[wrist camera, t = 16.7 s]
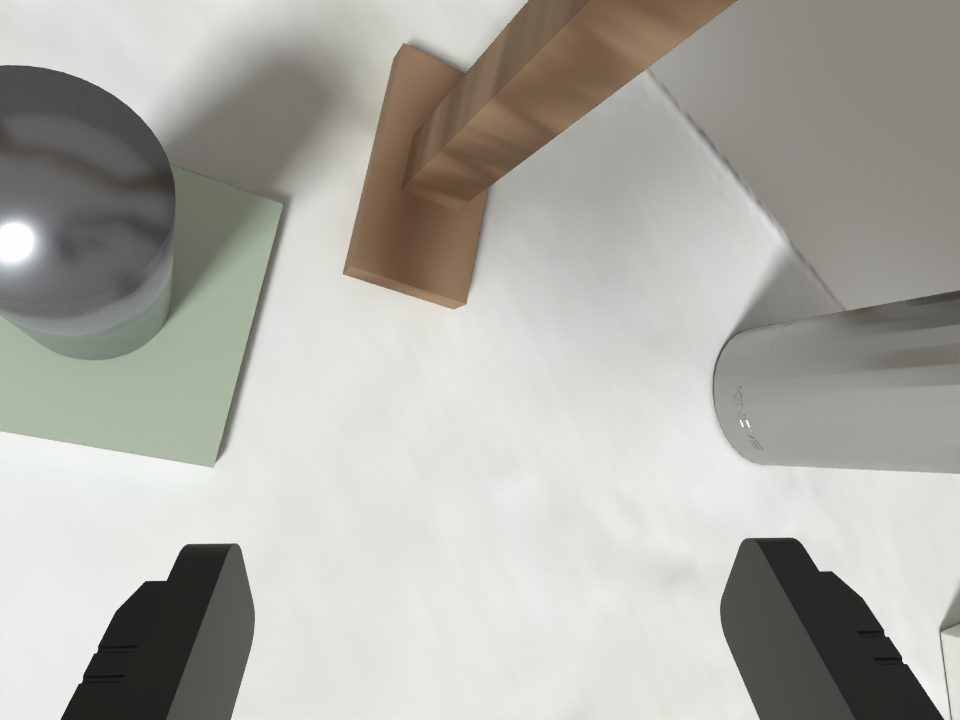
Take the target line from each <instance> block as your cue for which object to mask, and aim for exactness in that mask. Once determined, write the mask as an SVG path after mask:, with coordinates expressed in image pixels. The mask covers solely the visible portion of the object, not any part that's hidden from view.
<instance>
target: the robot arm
mask: <svg viewBox="0 0 960 720" xmlns="http://www.w3.org/2000/svg"><path fill="white" fill-rule="evenodd" d="M714 402H715V409H716V413H717V416H718V420H719V423H720V426H721V428H722V430H723V432H724V434H725V436H726V438H727V439H728V441H729V442H730V444H731V445H732V447H733V448H734V449H735V450H736V451H737V452H738V453H739V454H740V455H741V456H743V457H744V458H746V459H748V460H749V461H751V462H754V463H757V464H761V465H777V466H800V467H817V468H839V469H862V470H884V471H907V472H930V473H953V474H960V290H959V291H954V292H948V293H942V294H937V295H932V296H926V297H921V298H916V299H910V300H905V301H899V302H893V303H888V304H883V305H877V306H872V307H867V308H861V309H856V310H850V311H844V312H839V313H834V314H828V315H823V316H817V317H812V318H806V319H800V320H794V321H789V322H784V323H778V324H773V325H768V326H762V327H757V328H752V329H747V330H744V331H742V332H740V333H738V334H736V335H735V336H734V337H733V338H732V339H731V340H730V341H729V342H728V343H727V345H726V346H725V348H724V349H723V351H722V353H721V355H720V358H719V360H718V363H717V366H716V371H715V376H714ZM720 615H721V623H722V628H723V632H724V636H725V638H726V641H727V643H728V646H729V648H730V650H731V653H732V655H733V657H734V660H735V662H736V664H737V667H738V669H739V672H740V674H741V676H742V679H743V681H744V683H745V686H746V688H747V690H748V693H749V695H750V697H751V700H752V702H753V704H754V707H755V709H756V711H757V714H758V716H759V719H760V720H944V719H943V717H942V716H941V714H940V713H939V711H938V710H937V708H936V707H935V705H934V704H933V702H932V701H931V699H930V698H929V696H928V695H927V693H926V692H925V690H924V689H923V687H922V686H921V684H920V683H919V681H918V680H917V678H916V677H915V675H914V674H913V673H912V671H911V670H910V668H909V667H908V665H907V664H904V663H903V662H902V656H901V655H900V653H899V652H898V650H897V649H896V647H895V646H894V644H893V643H892V641H891V640H890V638H889V637H885V635H884V629H883V628H882V626H881V625H880V623H879V622H878V620H877V619H876V617H875V616H874V615H873V613H872V612H871V610H870V609H869V607H868V606H867V604H866V603H865V601H864V600H863V598H862V597H860V596H859V595H858V594H857V593H856V592H855V591H854V590H852V589H851V588H850V587H849V586H848V585H847V584H846V583H844V582H843V581H842V580H841V579H840V578H839V577H838V576H836V575H835V574H834V573H833V572H832V571H828V572H819V570H818V569H817V567H816V565H815V564H814V562H813V561H812V559H811V557H810V556H809V554H808V553H807V551H806V549H805V548H804V547H803V545H802V544H801V543H800V542H799V541H798V540H796V539H794V538H747V539H745V540H743V542H742V543H741V545H740V547H739V550H738V553H737V556H736V559H735V561H734V564H733V567H732V570H731V573H730V576H729V578H728V581H727V584H726V587H725V590H724V593H723V596H722V599H721V606H720ZM254 624H255V611H254V604H253V599H252V595H251V591H250V586H249V582H248V577H247V573H246V569H245V564H244V560H243V556H242V551H241V548H240V546H239V545H238V544H187V545H186V546H184V547H183V548H182V550H181V551H180V553H179V555H178V557H177V559H176V561H175V564H174V566H173V568H172V570H171V572H170V575H169V577H168V579H167V581H145V582H144V583H143V584H142V585H141V586H140V588H139V589H138V590H137V591H136V592H135V593H134V594H133V595H132V596H131V597H130V598H129V599H128V600H127V601H126V602H125V603H124V604H123V605H122V606H121V607H120V608H119V609H118V610H117V611H116V612H115V614H114V616H113V618H112V620H111V622H110V624H109V626H108V628H107V630H106V632H105V634H104V636H103V638H102V640H101V642H100V644H99V646H98V652H97V654H94V655H93V657H92V659H91V661H90V663H89V665H88V667H87V669H86V671H85V673H84V675H83V682H82V683H81V684H79V685H78V687H77V689H76V691H75V693H74V695H73V697H72V698H71V700H70V702H69V704H68V706H67V708H66V710H65V712H64V714H63V716H62V718H61V720H231V717H232V713H233V709H234V706H235V702H236V699H237V695H238V692H239V688H240V685H241V681H242V678H243V674H244V671H245V667H246V664H247V660H248V657H249V653H250V649H251V645H252V641H253V634H254Z"/></svg>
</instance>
